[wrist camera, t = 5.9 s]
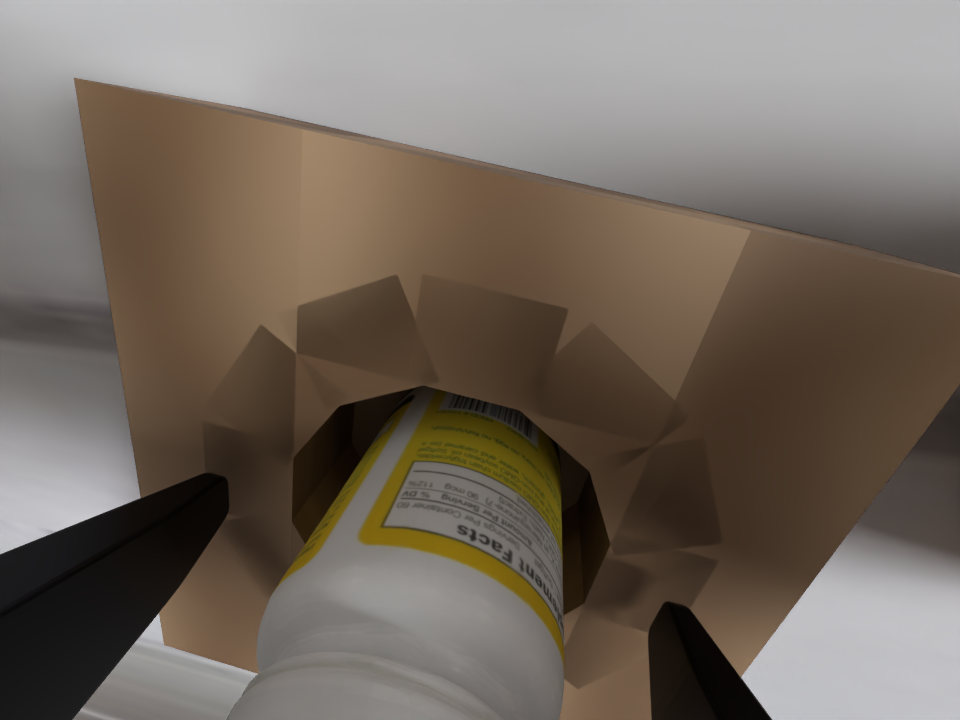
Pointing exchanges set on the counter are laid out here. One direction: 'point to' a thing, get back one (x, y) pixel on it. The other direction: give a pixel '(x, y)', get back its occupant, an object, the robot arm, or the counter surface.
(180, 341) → the wooden holder block
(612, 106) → the counter surface
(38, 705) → the robot arm
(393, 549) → the supplement bottle
